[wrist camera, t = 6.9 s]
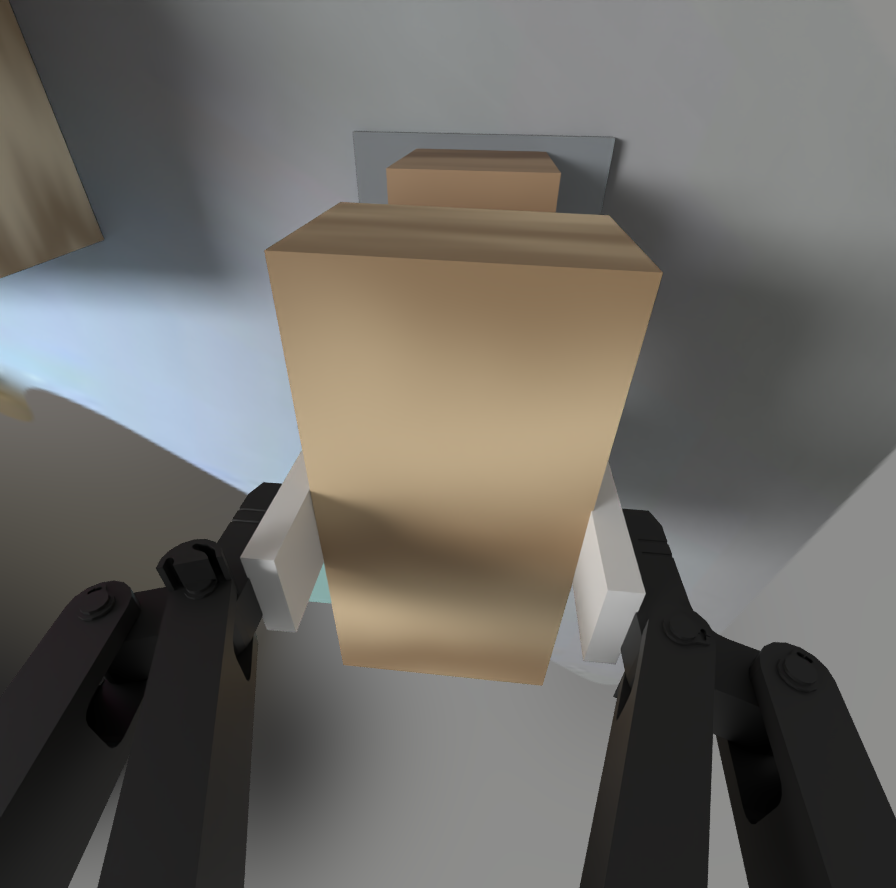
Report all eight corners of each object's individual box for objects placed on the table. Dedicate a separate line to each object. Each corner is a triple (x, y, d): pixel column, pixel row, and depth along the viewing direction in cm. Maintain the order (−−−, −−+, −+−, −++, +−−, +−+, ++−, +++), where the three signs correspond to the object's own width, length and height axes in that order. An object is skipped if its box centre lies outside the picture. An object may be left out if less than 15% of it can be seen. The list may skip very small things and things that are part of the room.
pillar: (416, 148, 18) (386, 168, 14) (546, 151, 18) (561, 173, 13) (419, 278, 21) (395, 331, 17) (530, 282, 21) (538, 338, 16)
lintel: (340, 201, 12) (264, 250, 8) (609, 215, 12) (663, 272, 8) (373, 555, 21) (343, 665, 17) (534, 569, 20) (542, 685, 16)
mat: (355, 131, 19) (352, 131, 18) (613, 136, 18) (615, 137, 18) (383, 451, 28) (382, 455, 28) (552, 463, 28) (552, 467, 27)
